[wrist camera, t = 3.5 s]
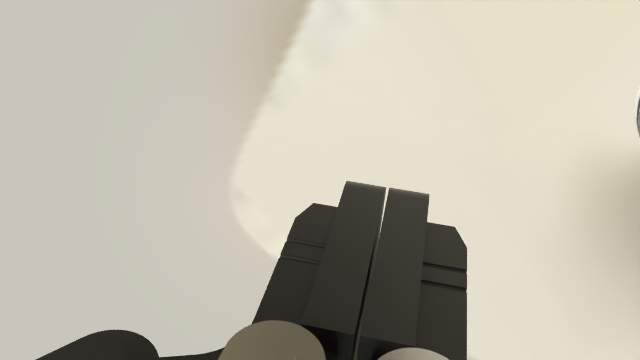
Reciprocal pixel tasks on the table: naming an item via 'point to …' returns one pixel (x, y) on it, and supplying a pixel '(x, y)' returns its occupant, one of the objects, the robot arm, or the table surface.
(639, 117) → the supplement bottle
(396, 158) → the table surface
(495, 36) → the table surface
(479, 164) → the table surface
